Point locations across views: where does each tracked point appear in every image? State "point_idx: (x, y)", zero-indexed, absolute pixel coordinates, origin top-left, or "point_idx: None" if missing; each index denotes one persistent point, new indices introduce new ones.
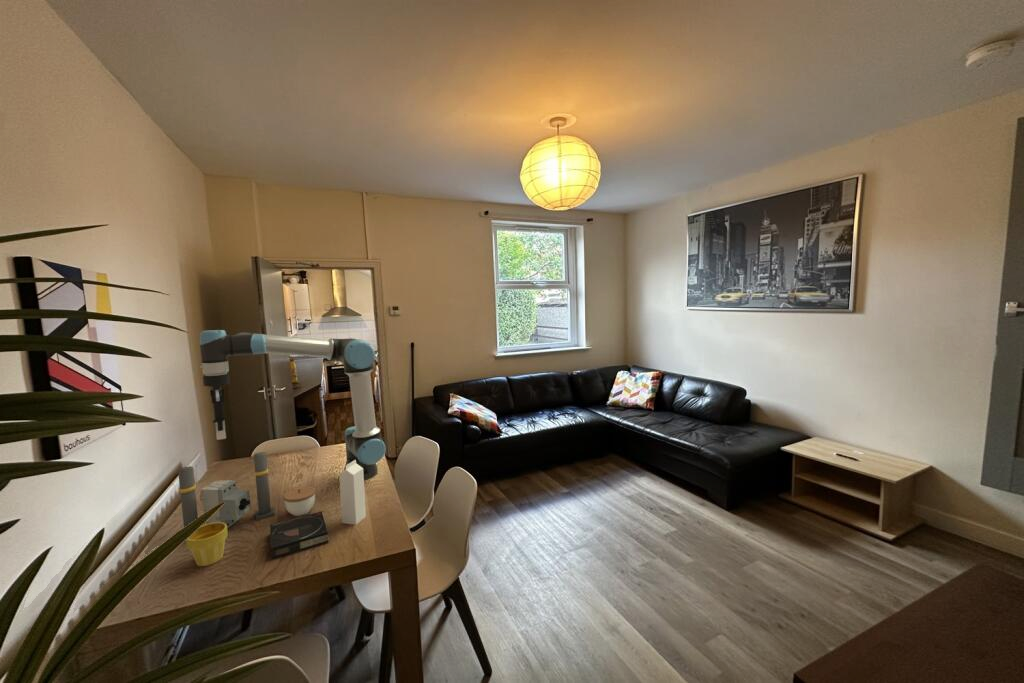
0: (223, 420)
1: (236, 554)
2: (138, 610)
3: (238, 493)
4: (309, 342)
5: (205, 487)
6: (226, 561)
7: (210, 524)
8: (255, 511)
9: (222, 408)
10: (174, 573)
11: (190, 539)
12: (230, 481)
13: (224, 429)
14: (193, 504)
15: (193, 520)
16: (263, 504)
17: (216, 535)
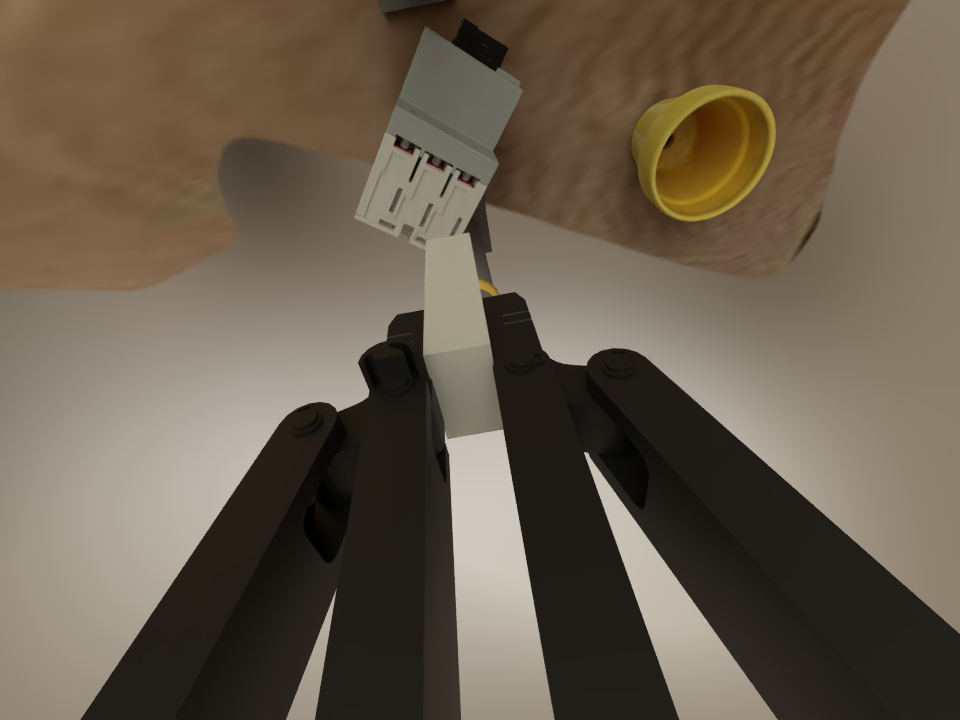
0: (547, 356)
1: (690, 50)
2: (773, 248)
3: (449, 84)
4: None
5: (424, 245)
6: (712, 79)
7: (657, 160)
8: (385, 9)
9: (862, 557)
10: (668, 217)
11: (676, 207)
12: (395, 139)
13: (478, 284)
14: (482, 257)
15: (479, 237)
16: None
17: (772, 117)
